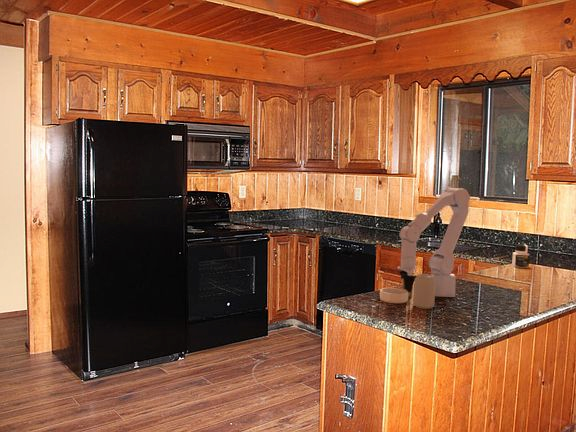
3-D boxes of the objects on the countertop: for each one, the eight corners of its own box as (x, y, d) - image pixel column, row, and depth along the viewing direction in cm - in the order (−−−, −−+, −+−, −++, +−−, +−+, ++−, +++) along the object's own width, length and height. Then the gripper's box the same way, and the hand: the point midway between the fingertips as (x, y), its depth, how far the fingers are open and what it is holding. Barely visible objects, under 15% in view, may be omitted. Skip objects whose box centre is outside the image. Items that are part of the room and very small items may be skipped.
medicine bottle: (515, 267, 293) (516, 245, 292) (511, 265, 300) (513, 243, 299) (529, 268, 292) (530, 245, 291) (525, 265, 299) (527, 243, 298)
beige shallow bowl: (405, 297, 219) (405, 288, 219) (409, 303, 209) (409, 294, 209) (378, 296, 220) (379, 287, 220) (381, 302, 210) (381, 293, 209)
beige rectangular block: (411, 295, 222) (411, 278, 222) (412, 297, 220) (412, 280, 219) (401, 295, 223) (401, 278, 222) (402, 296, 220) (402, 279, 219)
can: (430, 304, 209) (432, 273, 208) (436, 309, 201) (438, 277, 200) (411, 304, 209) (412, 272, 208) (416, 309, 201) (417, 277, 200)
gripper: (395, 253, 227) (394, 285, 228) (400, 259, 213) (399, 293, 214) (413, 253, 227) (411, 286, 228) (419, 259, 212) (417, 294, 214)
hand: (406, 290), depth 221 cm, fingers open, 7 cm apart
